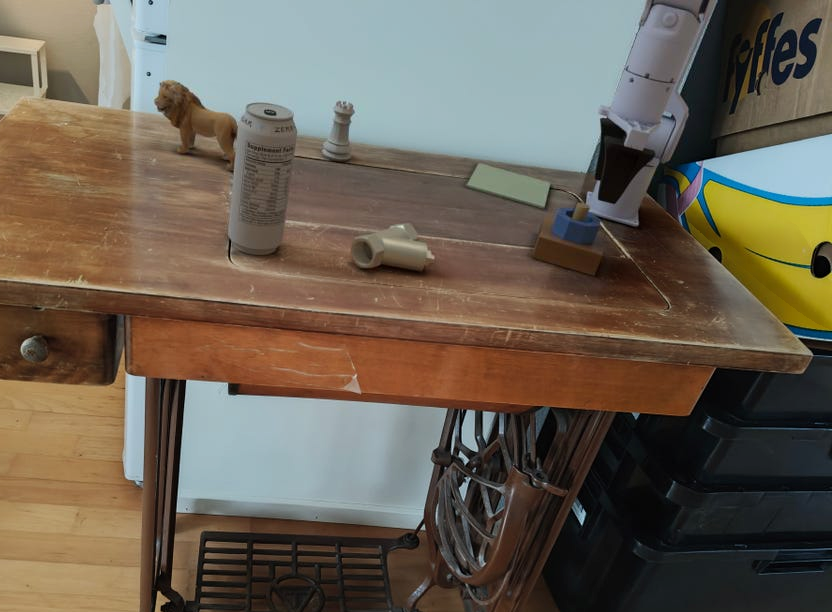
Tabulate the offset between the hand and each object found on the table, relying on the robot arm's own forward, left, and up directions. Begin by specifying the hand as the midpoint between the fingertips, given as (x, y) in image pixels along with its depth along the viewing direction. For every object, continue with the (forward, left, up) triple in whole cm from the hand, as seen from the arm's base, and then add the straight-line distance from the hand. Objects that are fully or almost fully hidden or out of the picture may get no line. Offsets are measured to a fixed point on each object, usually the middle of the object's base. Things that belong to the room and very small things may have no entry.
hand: (604, 190), depth 88 cm
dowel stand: (-2, -2, -10) cm, 10 cm away
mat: (-23, -12, -10) cm, 27 cm away
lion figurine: (+1, -53, -10) cm, 54 cm away
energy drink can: (+21, -36, -10) cm, 43 cm away
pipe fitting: (+16, -21, -10) cm, 28 cm away
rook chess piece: (-14, -38, -10) cm, 41 cm away
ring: (-2, -2, -7) cm, 7 cm away
